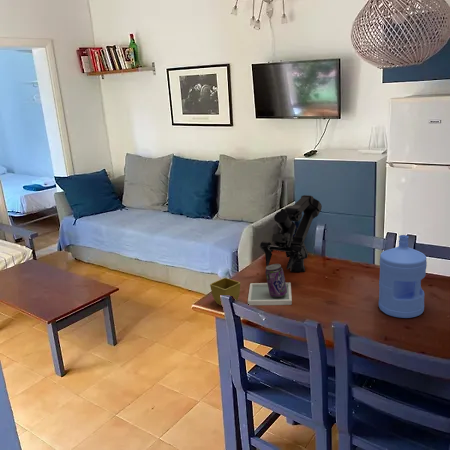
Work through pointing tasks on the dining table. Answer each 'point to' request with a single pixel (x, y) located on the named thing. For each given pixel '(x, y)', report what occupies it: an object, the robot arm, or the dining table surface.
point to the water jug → (402, 280)
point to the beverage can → (276, 280)
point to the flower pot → (225, 289)
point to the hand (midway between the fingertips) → (276, 267)
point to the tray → (267, 295)
